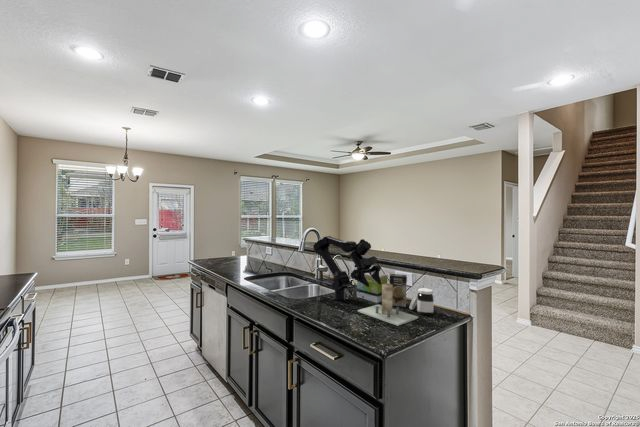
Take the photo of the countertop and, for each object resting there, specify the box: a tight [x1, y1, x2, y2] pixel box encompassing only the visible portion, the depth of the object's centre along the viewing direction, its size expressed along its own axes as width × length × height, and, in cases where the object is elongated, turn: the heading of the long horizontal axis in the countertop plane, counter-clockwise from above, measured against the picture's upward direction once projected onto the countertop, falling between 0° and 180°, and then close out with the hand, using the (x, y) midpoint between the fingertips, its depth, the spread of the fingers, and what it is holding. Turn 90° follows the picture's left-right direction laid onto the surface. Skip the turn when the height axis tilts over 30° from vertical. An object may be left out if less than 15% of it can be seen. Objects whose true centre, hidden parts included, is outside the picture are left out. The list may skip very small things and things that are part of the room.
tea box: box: [356, 272, 388, 304], centre depth 178 cm, size 15×10×15 cm
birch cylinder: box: [381, 282, 393, 315], centre depth 150 cm, size 5×5×14 cm
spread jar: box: [408, 287, 435, 316], centre depth 155 cm, size 12×11×12 cm
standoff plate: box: [357, 304, 419, 327], centre depth 150 cm, size 24×16×4 cm, turn 40°
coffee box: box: [389, 273, 408, 308], centre depth 167 cm, size 9×6×16 cm
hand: (374, 285), depth 156 cm, fingers open, 9 cm apart
